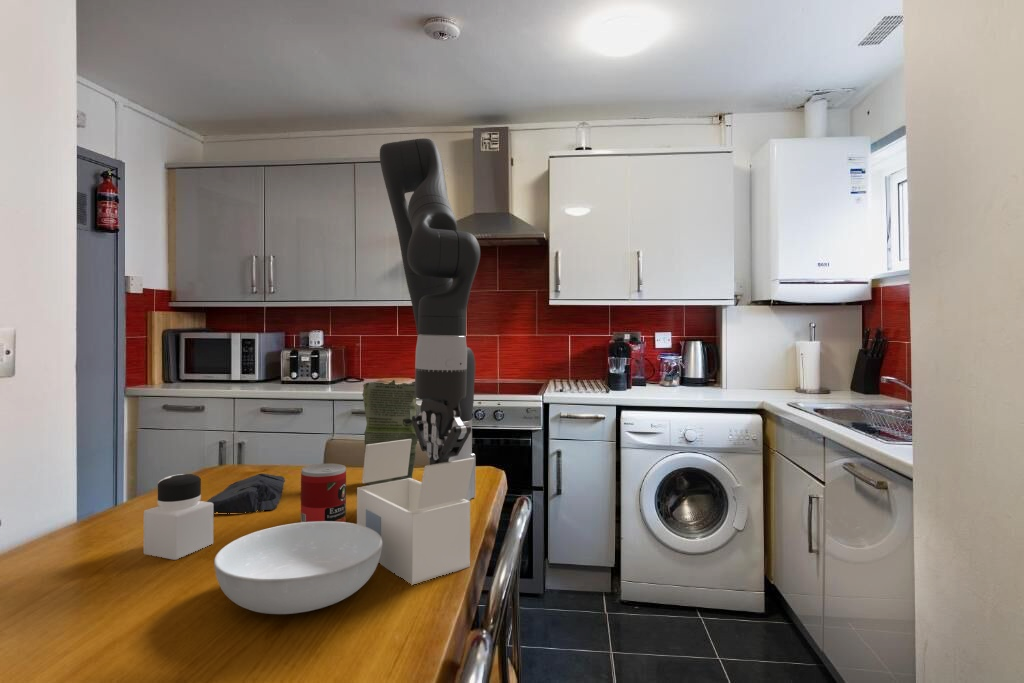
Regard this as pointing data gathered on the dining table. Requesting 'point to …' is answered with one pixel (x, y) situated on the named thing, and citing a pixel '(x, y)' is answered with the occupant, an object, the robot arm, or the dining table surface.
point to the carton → (415, 530)
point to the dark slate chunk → (250, 495)
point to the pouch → (390, 417)
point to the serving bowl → (297, 566)
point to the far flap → (386, 460)
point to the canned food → (323, 493)
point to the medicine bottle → (178, 519)
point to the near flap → (445, 482)
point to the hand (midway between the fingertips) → (438, 483)
